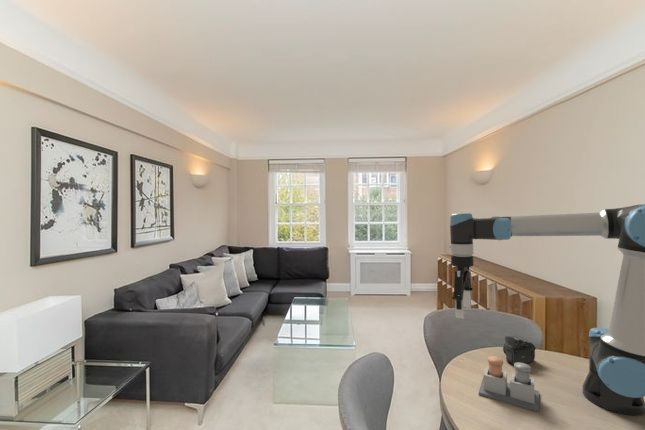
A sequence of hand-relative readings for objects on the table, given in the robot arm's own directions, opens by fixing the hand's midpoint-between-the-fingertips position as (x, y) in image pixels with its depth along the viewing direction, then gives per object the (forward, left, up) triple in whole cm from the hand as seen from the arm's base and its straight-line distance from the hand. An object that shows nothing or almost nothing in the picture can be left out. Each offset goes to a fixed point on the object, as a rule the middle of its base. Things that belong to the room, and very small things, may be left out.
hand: (463, 312), depth 115 cm
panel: (-14, +1, -26) cm, 29 cm away
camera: (-16, -28, -26) cm, 42 cm away
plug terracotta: (-10, +1, -21) cm, 23 cm away
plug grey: (-18, 0, -21) cm, 28 cm away
